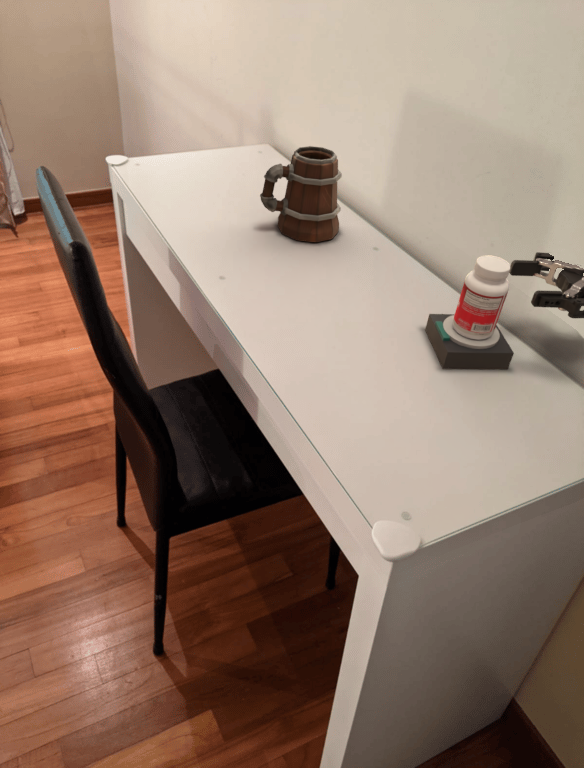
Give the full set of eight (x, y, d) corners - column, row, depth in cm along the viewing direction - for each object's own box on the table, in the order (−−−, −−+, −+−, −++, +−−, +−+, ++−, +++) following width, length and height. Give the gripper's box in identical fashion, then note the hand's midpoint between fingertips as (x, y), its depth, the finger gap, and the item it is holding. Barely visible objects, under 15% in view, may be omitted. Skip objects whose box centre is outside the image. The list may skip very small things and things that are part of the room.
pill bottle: (467, 313, 94) (488, 248, 87) (501, 332, 91) (525, 266, 84) (443, 326, 91) (462, 259, 84) (476, 346, 88) (499, 278, 81)
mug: (326, 215, 127) (336, 142, 117) (344, 242, 118) (356, 165, 108) (252, 217, 123) (256, 141, 114) (265, 245, 114) (269, 165, 105)
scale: (485, 330, 98) (491, 311, 95) (507, 369, 90) (515, 349, 88) (425, 329, 97) (430, 310, 94) (442, 368, 89) (448, 348, 87)
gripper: (613, 239, 92) (511, 235, 90) (667, 288, 81) (552, 285, 79) (594, 282, 96) (496, 280, 94) (641, 335, 86) (532, 333, 84)
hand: (521, 282), depth 87 cm, fingers open, 8 cm apart
